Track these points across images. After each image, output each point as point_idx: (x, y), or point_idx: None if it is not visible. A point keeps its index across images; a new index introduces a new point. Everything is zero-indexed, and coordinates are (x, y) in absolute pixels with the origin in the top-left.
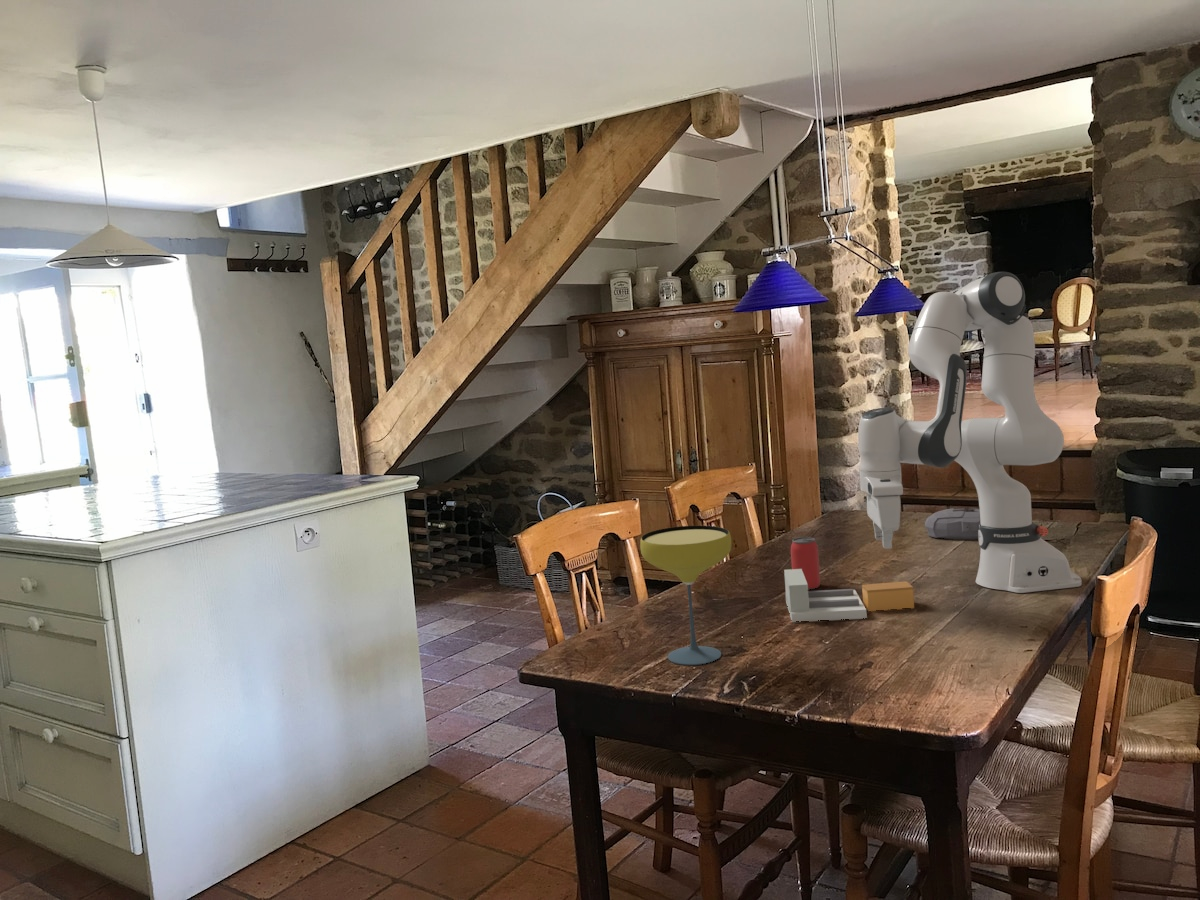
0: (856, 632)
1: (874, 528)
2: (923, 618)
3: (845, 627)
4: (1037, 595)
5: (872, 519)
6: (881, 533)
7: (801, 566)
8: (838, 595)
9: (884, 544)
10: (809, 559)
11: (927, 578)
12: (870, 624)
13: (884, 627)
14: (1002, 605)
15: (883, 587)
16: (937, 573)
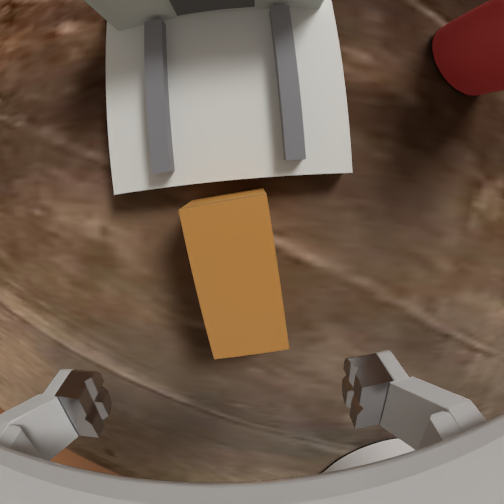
0: (30, 167)
1: (413, 393)
2: (131, 331)
3: (61, 137)
4: None
5: (329, 486)
6: (353, 412)
7: (469, 21)
8: (279, 108)
9: (54, 384)
10: (488, 39)
11: (459, 362)
12: (79, 200)
13: (60, 234)
14: (230, 461)
15: (216, 270)
16: (478, 376)
